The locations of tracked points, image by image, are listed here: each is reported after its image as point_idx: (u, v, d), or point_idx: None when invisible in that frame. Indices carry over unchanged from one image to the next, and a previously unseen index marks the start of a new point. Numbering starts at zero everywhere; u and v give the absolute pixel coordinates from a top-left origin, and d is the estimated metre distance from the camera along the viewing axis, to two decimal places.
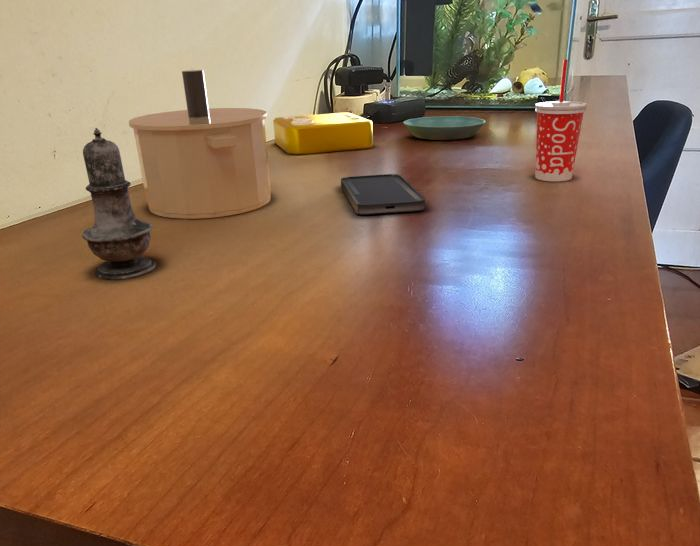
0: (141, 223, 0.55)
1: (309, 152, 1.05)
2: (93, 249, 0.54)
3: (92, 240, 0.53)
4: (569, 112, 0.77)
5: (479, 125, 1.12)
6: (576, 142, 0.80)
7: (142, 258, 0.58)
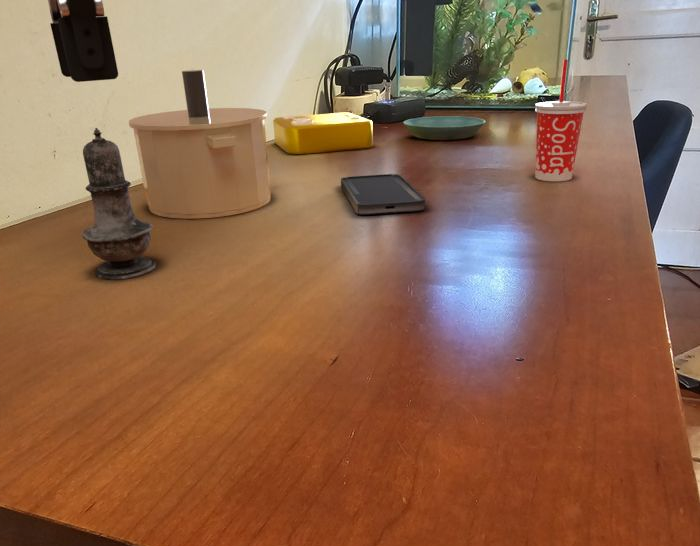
0: (141, 223, 0.55)
1: (309, 152, 1.05)
2: (93, 249, 0.54)
3: (92, 240, 0.53)
4: (569, 112, 0.77)
5: (479, 125, 1.12)
6: (576, 142, 0.80)
7: (142, 258, 0.58)
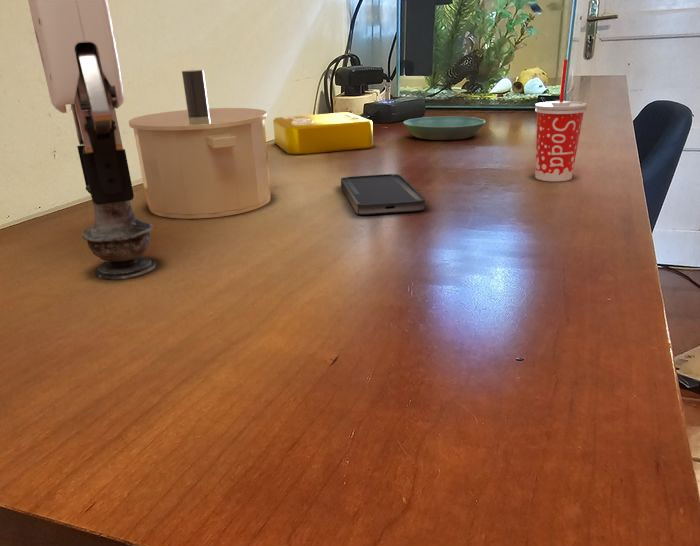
0: (141, 223, 0.55)
1: (309, 152, 1.05)
2: (93, 249, 0.54)
3: (91, 240, 0.53)
4: (569, 112, 0.77)
5: (479, 125, 1.12)
6: (576, 142, 0.80)
7: (142, 258, 0.58)
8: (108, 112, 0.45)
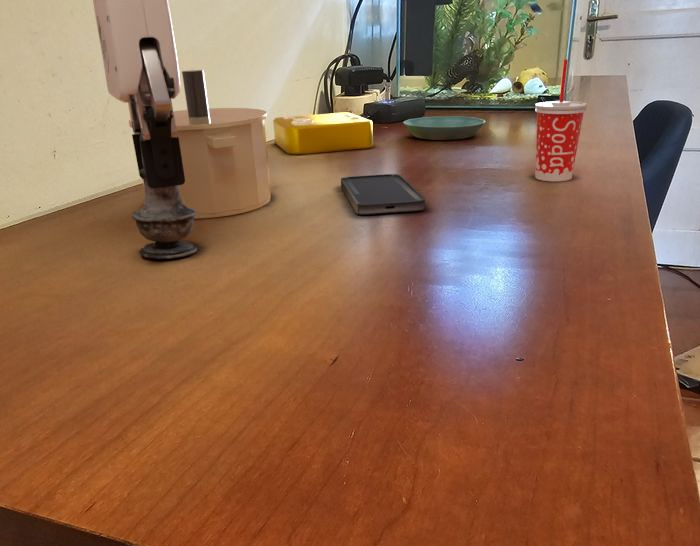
0: (187, 208, 0.59)
1: (309, 152, 1.05)
2: (142, 229, 0.58)
3: (142, 220, 0.57)
4: (569, 112, 0.77)
5: (479, 125, 1.12)
6: (576, 142, 0.80)
7: (184, 242, 0.62)
8: (168, 101, 0.49)
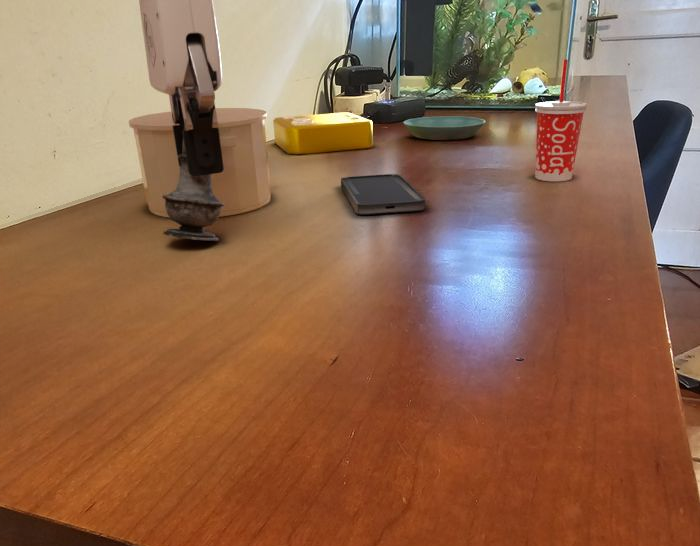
0: (216, 198, 0.62)
1: (309, 152, 1.05)
2: (172, 208, 0.60)
3: (174, 198, 0.59)
4: (569, 112, 0.77)
5: (479, 125, 1.12)
6: (576, 142, 0.80)
7: (206, 232, 0.64)
8: (212, 93, 0.53)
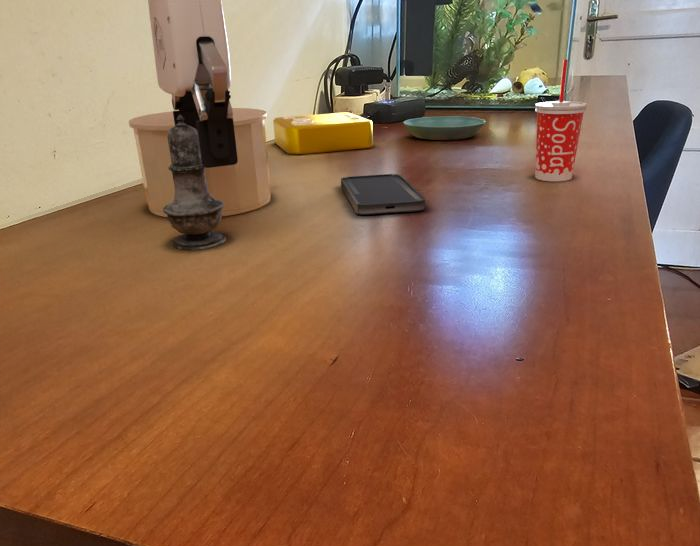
0: (215, 200, 0.62)
1: (309, 152, 1.05)
2: (175, 223, 0.61)
3: (175, 214, 0.60)
4: (569, 112, 0.77)
5: (479, 125, 1.12)
6: (576, 142, 0.80)
7: (212, 232, 0.65)
8: (224, 66, 0.52)
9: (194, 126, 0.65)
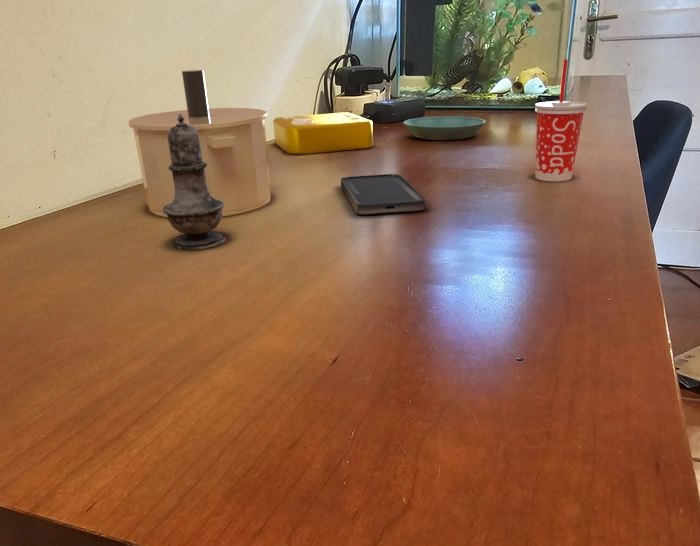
0: (215, 199, 0.62)
1: (309, 152, 1.05)
2: (175, 223, 0.61)
3: (175, 214, 0.60)
4: (569, 112, 0.77)
5: (479, 125, 1.12)
6: (576, 142, 0.80)
7: (212, 232, 0.65)
8: None
9: None
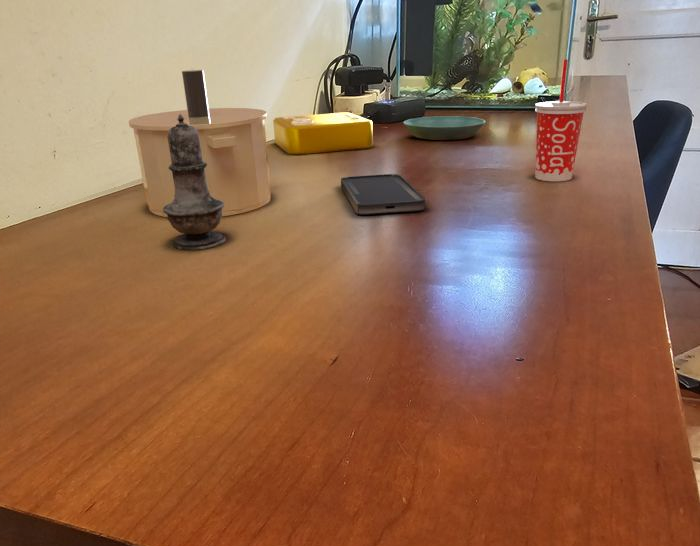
0: (215, 199, 0.62)
1: (309, 152, 1.05)
2: (175, 223, 0.61)
3: (175, 214, 0.60)
4: (569, 112, 0.77)
5: (479, 125, 1.12)
6: (576, 142, 0.80)
7: (212, 232, 0.65)
8: None
9: None
